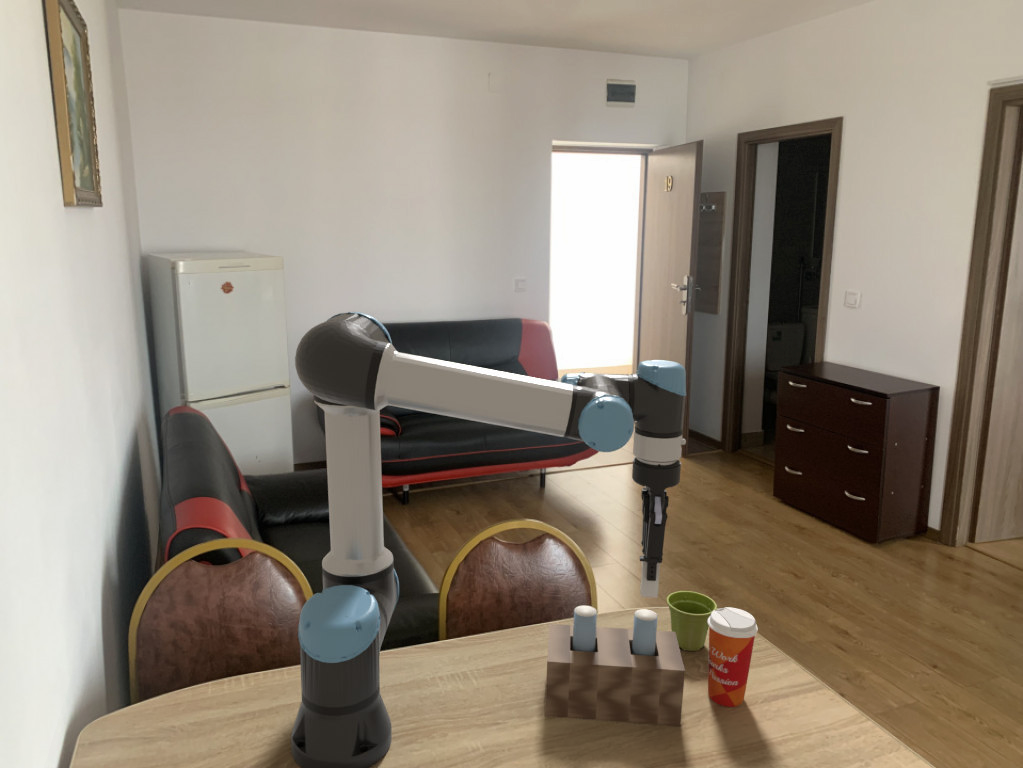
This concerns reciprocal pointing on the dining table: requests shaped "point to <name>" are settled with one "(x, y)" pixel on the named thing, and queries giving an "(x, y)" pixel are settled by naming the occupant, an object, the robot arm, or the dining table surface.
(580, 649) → the peg
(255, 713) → the dining table surface
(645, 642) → the peg
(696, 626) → the plant pot
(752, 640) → the coffee cup
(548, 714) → the collar block
